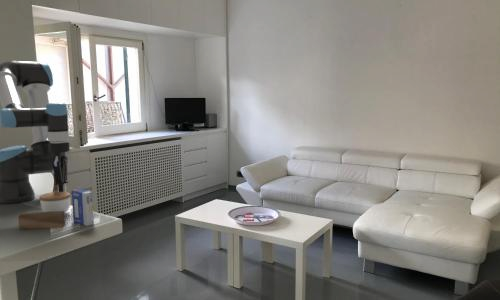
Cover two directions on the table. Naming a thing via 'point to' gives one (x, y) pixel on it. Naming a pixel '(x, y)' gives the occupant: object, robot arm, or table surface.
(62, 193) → the lidded jar
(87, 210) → the walkman
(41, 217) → the bar
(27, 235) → the table surface
